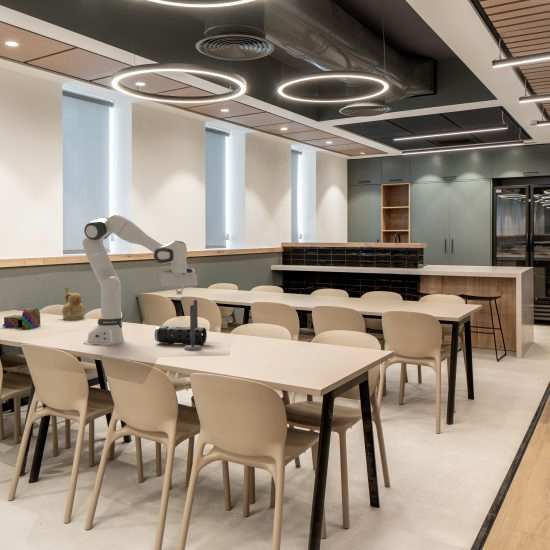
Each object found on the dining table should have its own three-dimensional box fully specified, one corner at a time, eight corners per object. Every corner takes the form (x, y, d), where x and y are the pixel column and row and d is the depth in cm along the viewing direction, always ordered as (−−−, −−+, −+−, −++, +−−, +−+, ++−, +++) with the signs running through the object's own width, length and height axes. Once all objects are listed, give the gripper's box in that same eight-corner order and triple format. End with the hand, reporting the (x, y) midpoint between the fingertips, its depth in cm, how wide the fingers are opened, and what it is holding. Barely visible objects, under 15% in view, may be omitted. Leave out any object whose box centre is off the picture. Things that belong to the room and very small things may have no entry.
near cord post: (183, 350, 300) (183, 306, 299) (184, 347, 309) (184, 304, 308) (200, 350, 301) (200, 305, 300) (201, 347, 310) (201, 304, 309)
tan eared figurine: (69, 323, 411) (68, 289, 410) (56, 321, 425) (55, 287, 423) (90, 320, 424) (89, 287, 423) (77, 318, 437) (76, 286, 436)
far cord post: (187, 341, 330) (186, 300, 329) (188, 338, 339) (188, 299, 338) (203, 341, 331) (202, 300, 330) (203, 338, 340) (203, 298, 339)
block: (44, 326, 397) (44, 306, 396) (31, 330, 380) (30, 309, 380) (11, 326, 400) (10, 306, 400) (-4, 329, 383) (-4, 308, 383)
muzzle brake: (201, 347, 313) (201, 328, 312) (154, 345, 318) (153, 327, 318) (207, 344, 322) (206, 325, 321) (160, 342, 328) (160, 324, 327)
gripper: (159, 269, 313) (159, 294, 314) (196, 269, 315) (197, 294, 316) (160, 269, 320) (161, 293, 320) (197, 269, 321) (197, 293, 322)
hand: (179, 294), depth 318 cm, fingers closed
